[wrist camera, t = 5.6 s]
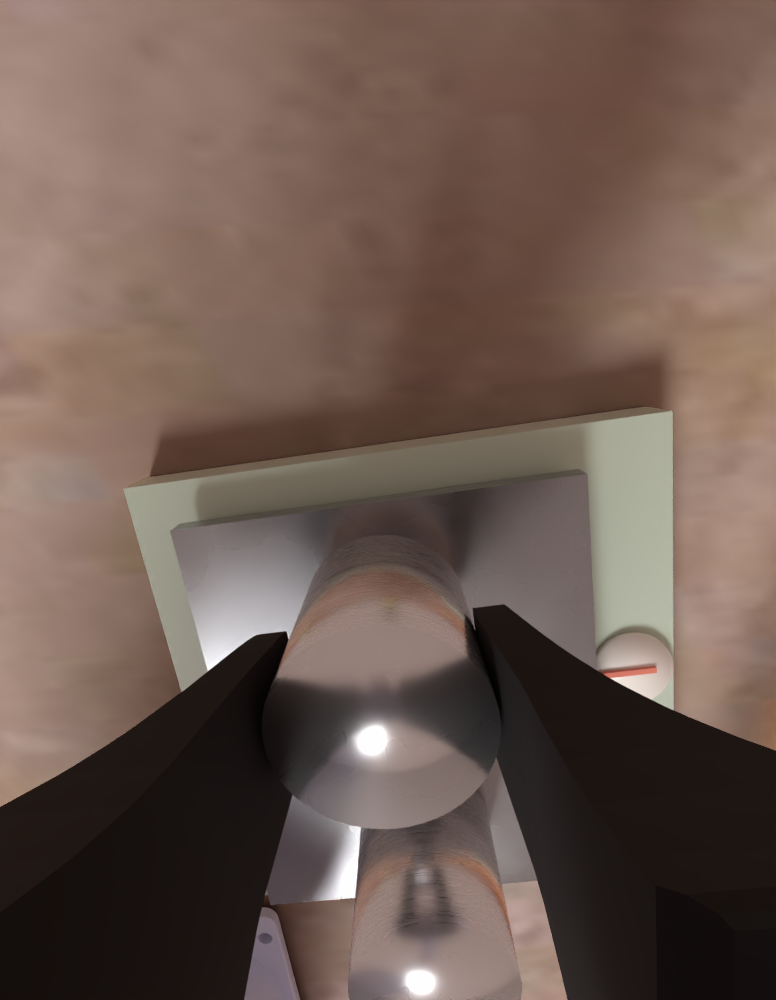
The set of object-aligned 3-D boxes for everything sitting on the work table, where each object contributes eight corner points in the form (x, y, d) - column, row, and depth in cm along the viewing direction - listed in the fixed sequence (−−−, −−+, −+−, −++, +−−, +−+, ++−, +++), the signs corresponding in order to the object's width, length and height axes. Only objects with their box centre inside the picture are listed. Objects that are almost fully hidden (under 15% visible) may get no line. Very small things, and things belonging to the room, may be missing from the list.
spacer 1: (479, 661, 12) (520, 805, 8) (330, 693, 12) (300, 847, 8) (446, 518, 11) (474, 602, 7) (286, 555, 11) (229, 655, 7)
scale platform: (587, 827, 16) (606, 874, 15) (281, 857, 17) (270, 905, 15) (565, 461, 13) (587, 474, 12) (194, 512, 14) (169, 530, 12)
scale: (652, 818, 17) (679, 865, 16) (252, 857, 18) (237, 907, 16) (645, 406, 14) (679, 412, 12) (149, 477, 15) (116, 491, 13)
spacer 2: (493, 865, 15) (528, 1043, 11) (371, 877, 15) (362, 1056, 11) (481, 763, 14) (514, 918, 10) (351, 777, 14) (334, 933, 10)
